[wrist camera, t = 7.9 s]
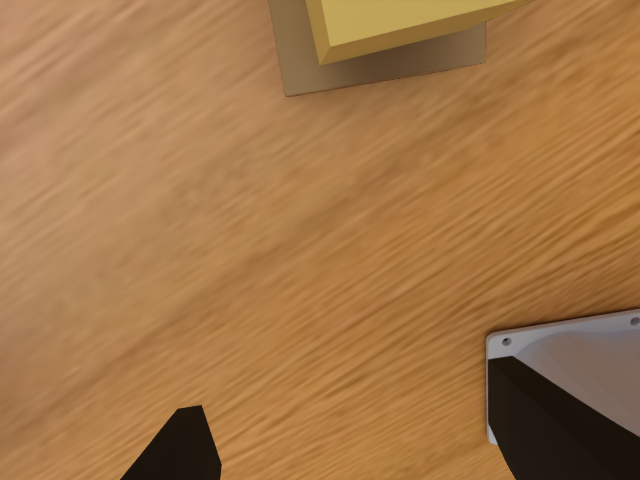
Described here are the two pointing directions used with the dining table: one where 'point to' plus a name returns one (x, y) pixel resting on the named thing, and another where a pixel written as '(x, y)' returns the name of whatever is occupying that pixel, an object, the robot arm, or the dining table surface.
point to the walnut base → (375, 67)
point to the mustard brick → (392, 23)
